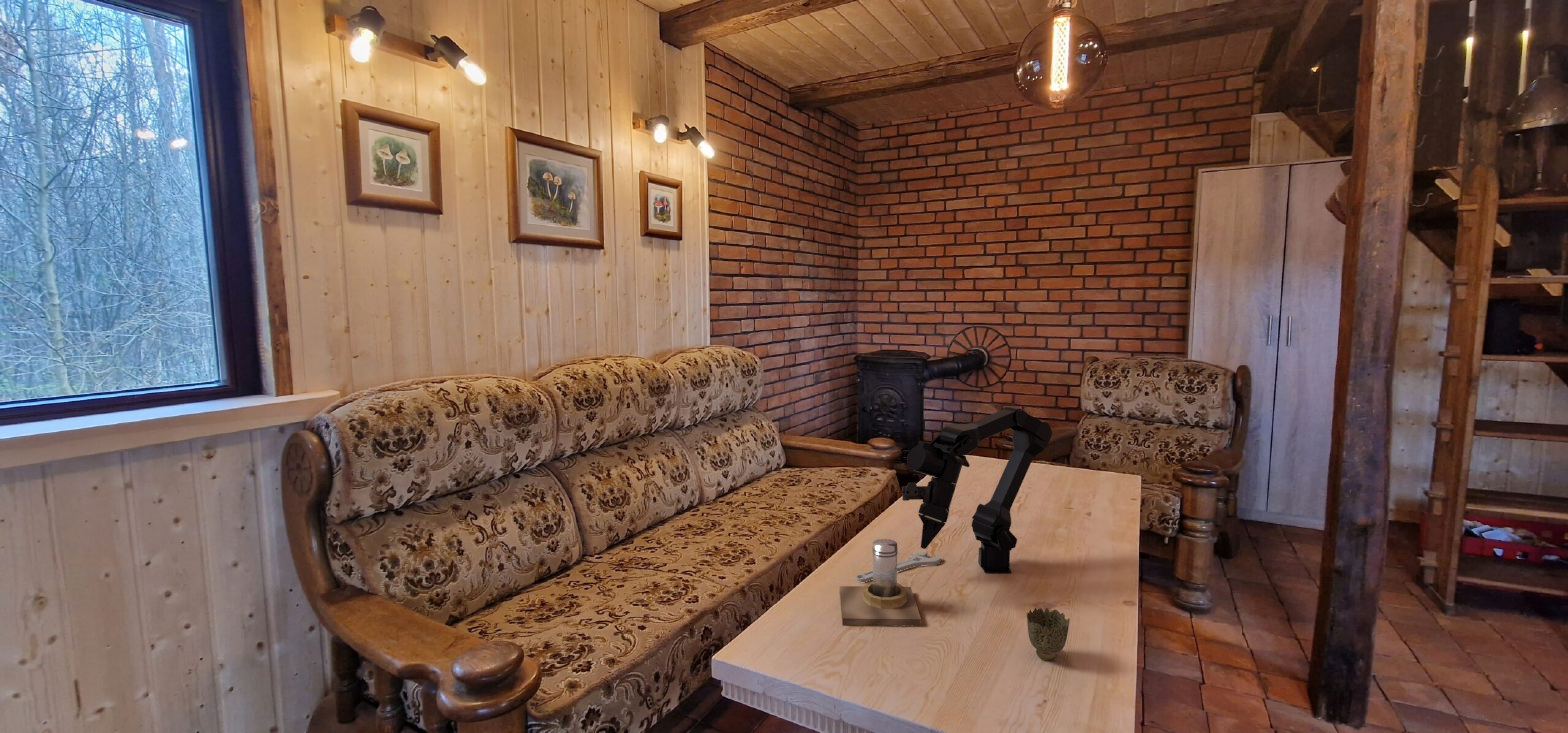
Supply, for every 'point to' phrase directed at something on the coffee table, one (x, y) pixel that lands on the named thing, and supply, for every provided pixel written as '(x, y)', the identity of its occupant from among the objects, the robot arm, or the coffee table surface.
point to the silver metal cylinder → (885, 568)
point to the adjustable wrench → (905, 565)
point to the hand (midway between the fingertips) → (923, 546)
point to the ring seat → (878, 607)
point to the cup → (1047, 632)
